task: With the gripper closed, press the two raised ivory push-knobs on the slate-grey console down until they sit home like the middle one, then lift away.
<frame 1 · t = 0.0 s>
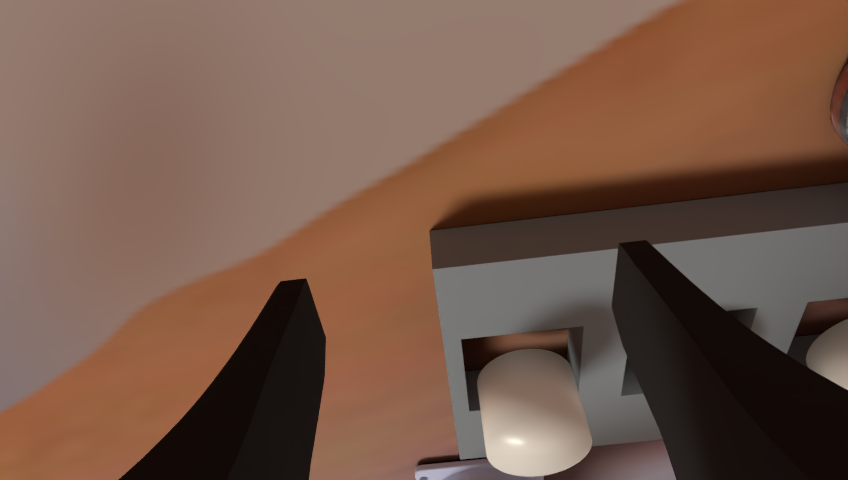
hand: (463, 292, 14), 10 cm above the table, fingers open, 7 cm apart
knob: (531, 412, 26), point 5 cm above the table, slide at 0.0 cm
console: (665, 315, 29), on the table
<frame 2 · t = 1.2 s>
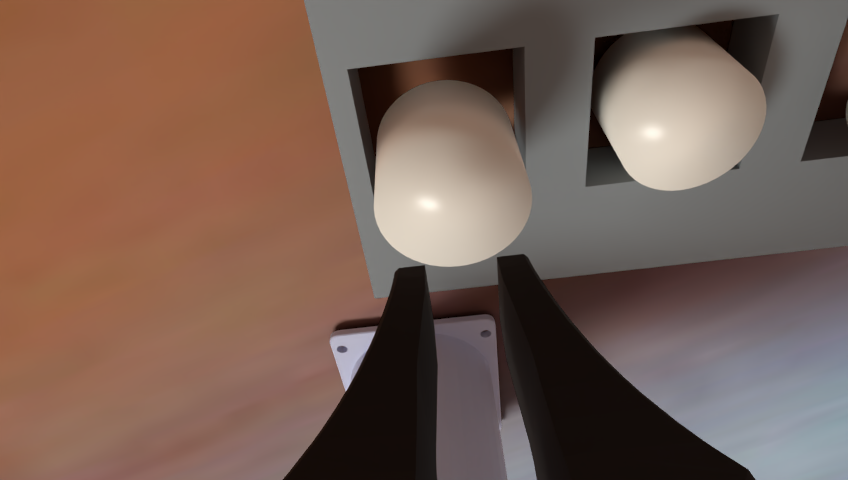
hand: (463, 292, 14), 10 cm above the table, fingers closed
middle knob: (670, 105, 20), point 2 cm above the table, slide at 2.5 cm
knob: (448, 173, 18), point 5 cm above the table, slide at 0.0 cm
console: (647, 76, 21), on the table
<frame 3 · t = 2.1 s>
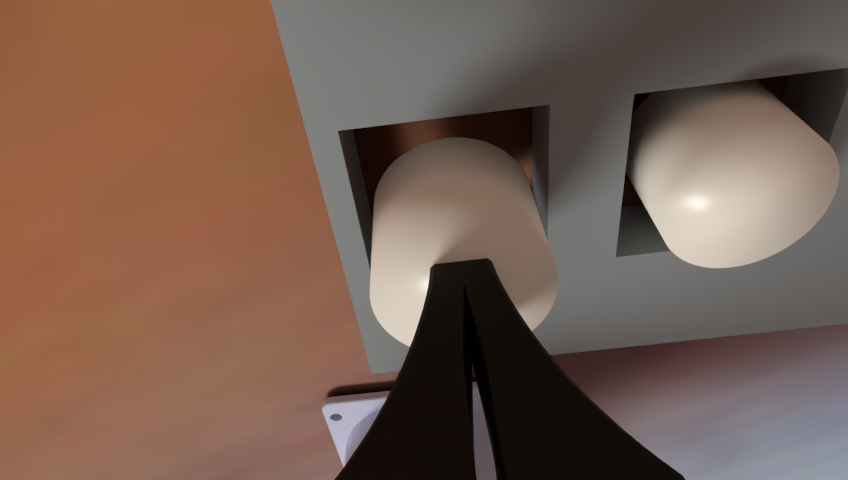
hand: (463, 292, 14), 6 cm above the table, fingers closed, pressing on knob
middle knob: (718, 167, 17), point 2 cm above the table, slide at 2.5 cm
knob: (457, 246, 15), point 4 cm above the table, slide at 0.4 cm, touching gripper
console: (687, 128, 18), on the table
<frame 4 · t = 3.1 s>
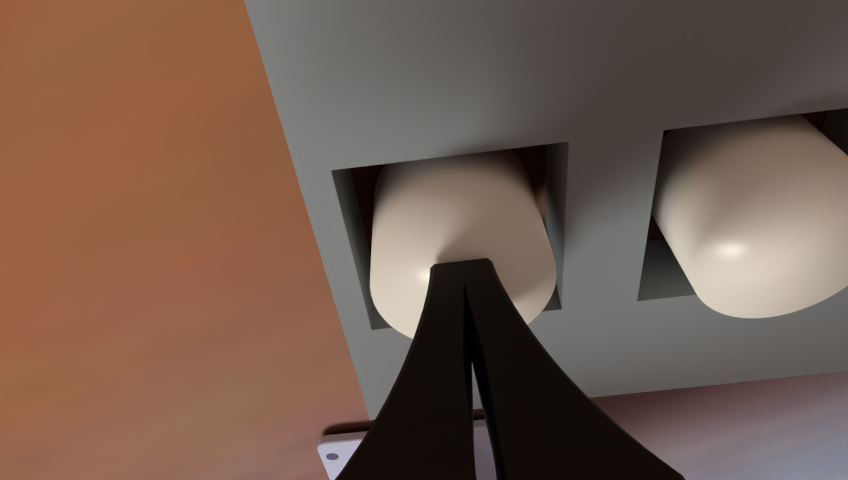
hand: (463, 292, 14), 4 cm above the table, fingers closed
middle knob: (753, 207, 15), point 2 cm above the table, slide at 2.5 cm
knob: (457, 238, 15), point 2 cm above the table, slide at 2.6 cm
console: (716, 160, 17), on the table
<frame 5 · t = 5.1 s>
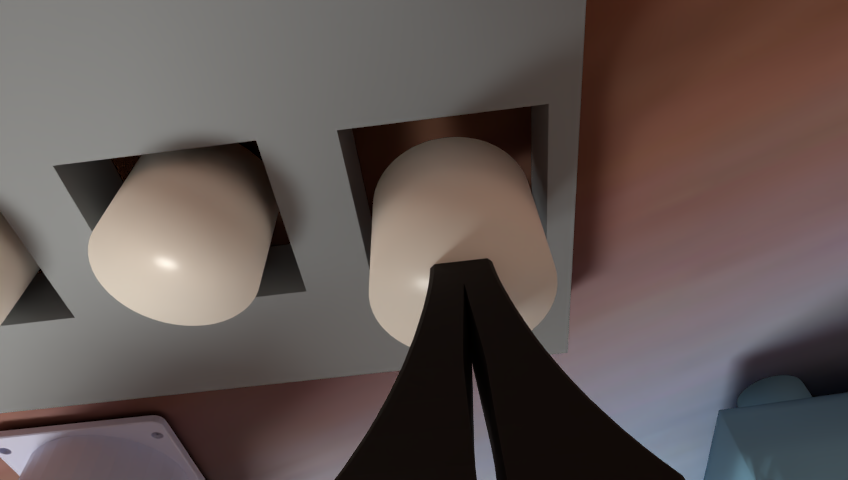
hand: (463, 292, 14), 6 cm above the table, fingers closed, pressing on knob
middle knob: (193, 229, 17), point 2 cm above the table, slide at 2.5 cm
console: (212, 185, 19), on the table
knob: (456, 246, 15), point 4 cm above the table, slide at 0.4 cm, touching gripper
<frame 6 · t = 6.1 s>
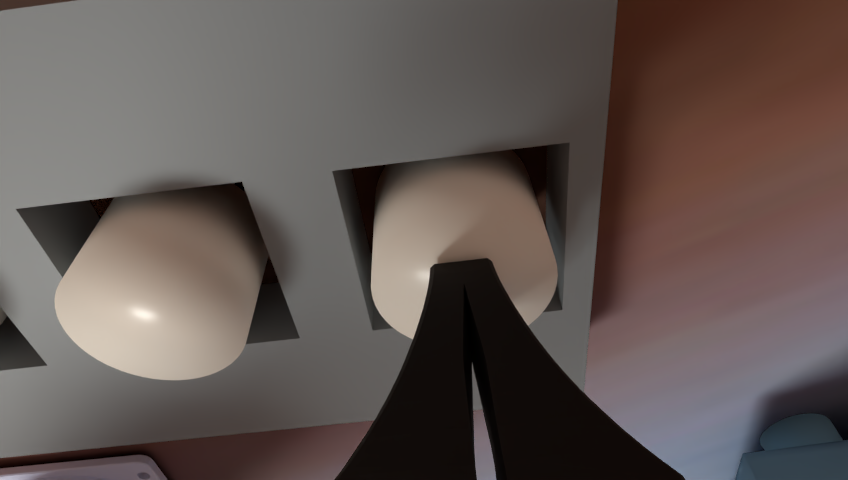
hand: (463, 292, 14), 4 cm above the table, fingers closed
middle knob: (175, 273, 16), point 2 cm above the table, slide at 2.5 cm
console: (197, 222, 17), on the table
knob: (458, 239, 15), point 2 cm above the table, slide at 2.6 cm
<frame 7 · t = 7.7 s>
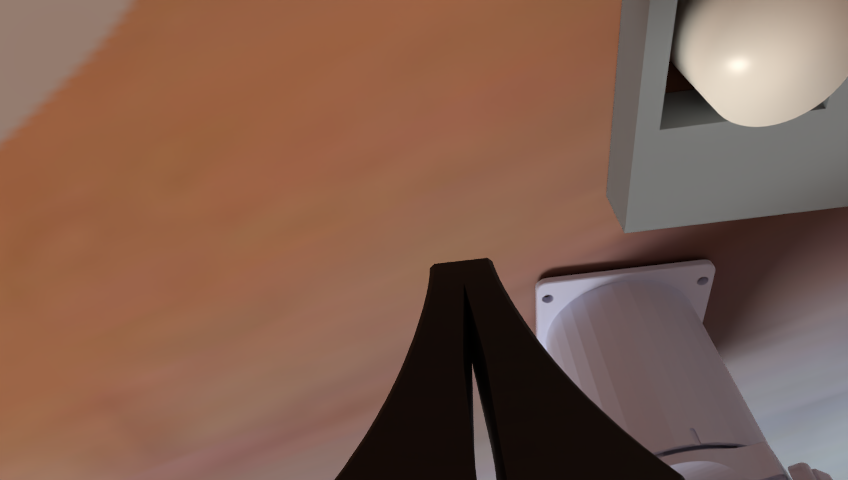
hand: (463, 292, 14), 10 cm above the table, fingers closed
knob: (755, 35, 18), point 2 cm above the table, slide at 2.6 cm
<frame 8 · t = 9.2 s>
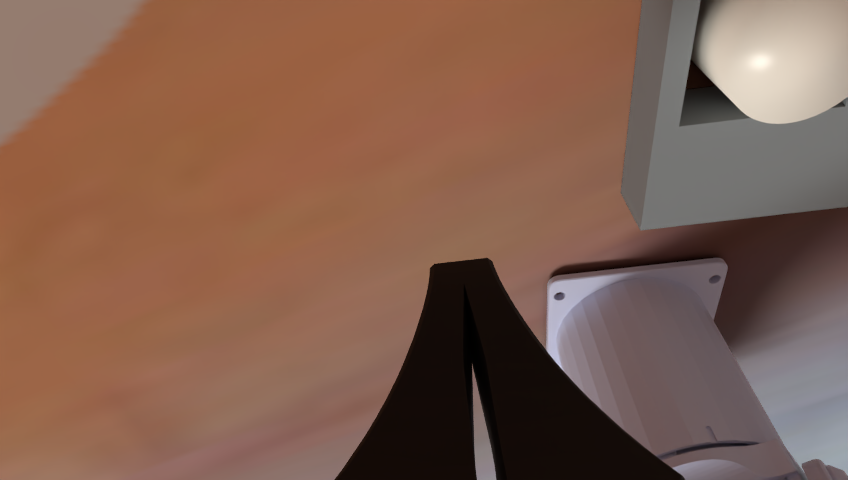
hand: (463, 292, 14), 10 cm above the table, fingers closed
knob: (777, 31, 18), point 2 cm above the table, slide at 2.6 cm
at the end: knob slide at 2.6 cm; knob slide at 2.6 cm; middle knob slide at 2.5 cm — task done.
